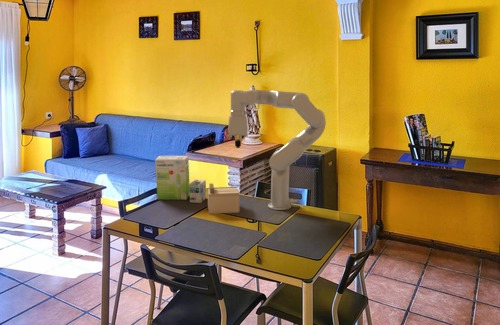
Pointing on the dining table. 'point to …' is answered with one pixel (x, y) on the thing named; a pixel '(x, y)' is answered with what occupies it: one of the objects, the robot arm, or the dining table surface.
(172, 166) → the green product box
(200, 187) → the light bulb box
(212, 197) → the carton
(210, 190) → the lid
